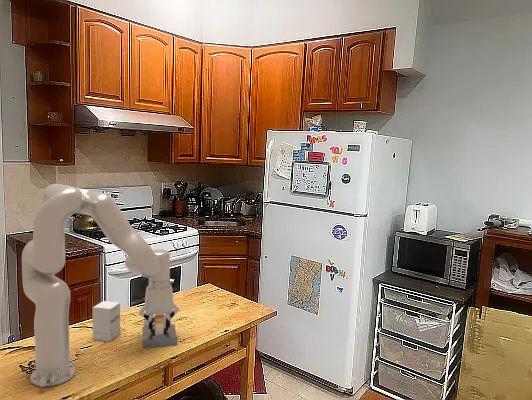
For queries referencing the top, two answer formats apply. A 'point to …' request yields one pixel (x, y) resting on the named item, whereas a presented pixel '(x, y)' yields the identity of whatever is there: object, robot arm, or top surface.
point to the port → (159, 337)
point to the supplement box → (106, 320)
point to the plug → (159, 324)
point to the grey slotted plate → (154, 321)
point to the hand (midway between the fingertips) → (159, 329)
